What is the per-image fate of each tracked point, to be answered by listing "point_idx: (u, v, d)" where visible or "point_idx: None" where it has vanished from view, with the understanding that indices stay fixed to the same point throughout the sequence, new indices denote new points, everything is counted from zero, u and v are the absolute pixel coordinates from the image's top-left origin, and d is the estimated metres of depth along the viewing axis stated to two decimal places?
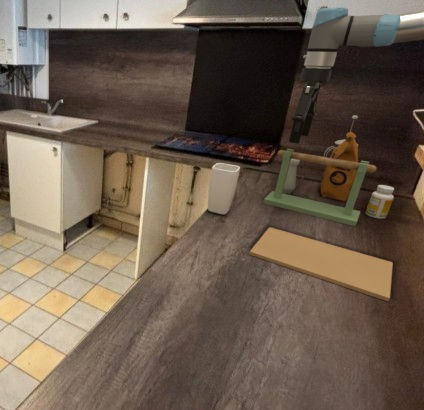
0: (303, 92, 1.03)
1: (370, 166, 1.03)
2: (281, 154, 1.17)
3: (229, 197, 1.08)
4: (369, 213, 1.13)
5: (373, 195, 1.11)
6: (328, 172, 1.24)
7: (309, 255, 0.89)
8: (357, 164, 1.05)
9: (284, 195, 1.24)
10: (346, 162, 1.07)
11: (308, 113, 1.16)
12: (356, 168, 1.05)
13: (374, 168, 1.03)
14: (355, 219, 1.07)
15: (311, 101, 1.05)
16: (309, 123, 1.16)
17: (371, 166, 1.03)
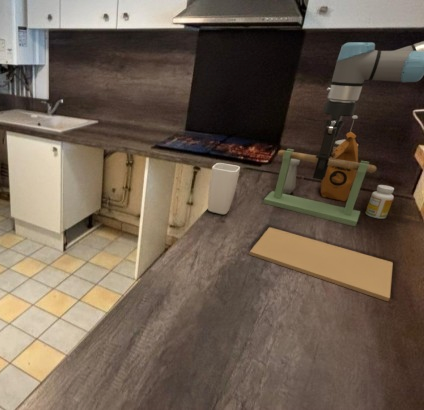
0: (326, 133, 1.03)
1: (370, 166, 1.03)
2: (281, 154, 1.17)
3: (229, 197, 1.08)
4: (369, 213, 1.13)
5: (373, 195, 1.11)
6: (328, 172, 1.24)
7: (309, 255, 0.89)
8: (357, 164, 1.05)
9: (284, 195, 1.24)
10: (346, 162, 1.07)
11: None
12: (356, 168, 1.05)
13: (374, 168, 1.03)
14: (355, 219, 1.07)
15: (335, 137, 1.05)
16: None
17: (371, 166, 1.03)
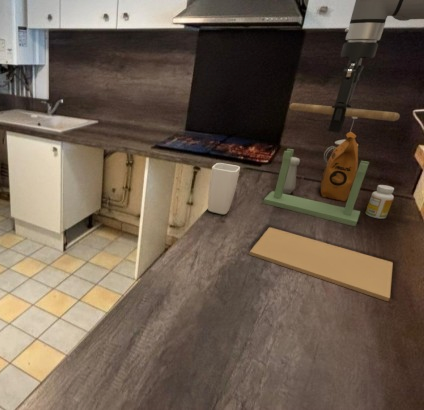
0: (344, 77, 0.94)
1: (393, 113, 0.94)
2: (293, 107, 1.08)
3: (229, 197, 1.08)
4: (369, 213, 1.13)
5: (373, 195, 1.11)
6: (328, 172, 1.24)
7: (309, 255, 0.89)
8: (378, 112, 0.96)
9: (284, 195, 1.24)
10: (365, 111, 0.97)
11: None
12: (377, 117, 0.96)
13: (397, 115, 0.93)
14: (355, 219, 1.07)
15: (354, 83, 0.96)
16: None
17: (394, 113, 0.94)
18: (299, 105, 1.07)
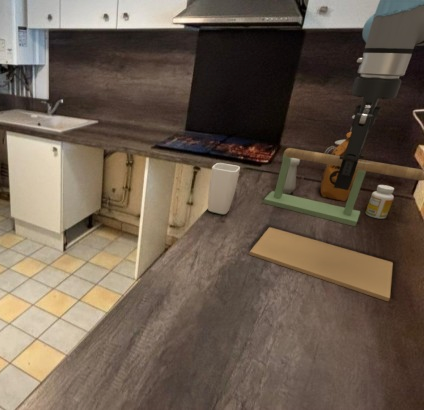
0: (356, 123, 0.71)
1: (420, 171, 0.71)
2: (289, 154, 0.85)
3: (229, 197, 1.08)
4: (369, 213, 1.13)
5: (373, 195, 1.11)
6: (328, 172, 1.24)
7: (309, 255, 0.89)
8: (400, 168, 0.73)
9: (284, 195, 1.24)
10: (383, 165, 0.74)
11: None
12: (398, 174, 0.73)
13: None
14: (355, 219, 1.07)
15: (368, 129, 0.73)
16: None
17: (421, 171, 0.71)
18: (296, 152, 0.84)
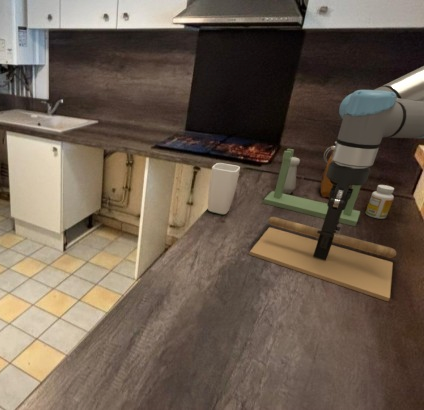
0: (330, 206, 0.79)
1: (388, 250, 0.78)
2: (272, 222, 0.92)
3: (229, 197, 1.08)
4: (369, 213, 1.13)
5: (373, 195, 1.11)
6: None
7: (309, 255, 0.89)
8: (371, 245, 0.80)
9: (284, 195, 1.24)
10: (356, 241, 0.82)
11: None
12: (369, 250, 0.80)
13: (393, 253, 0.78)
14: (355, 219, 1.07)
15: (342, 209, 0.81)
16: None
17: (389, 250, 0.78)
18: (279, 221, 0.91)
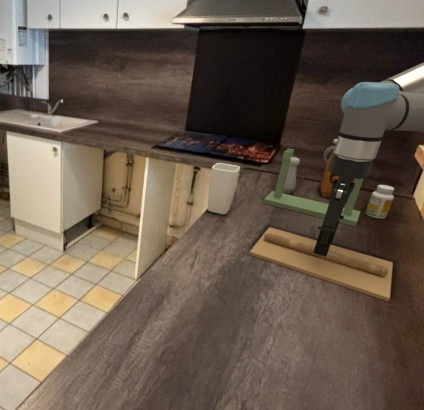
0: (333, 197, 0.77)
1: (380, 268, 0.80)
2: (268, 239, 0.94)
3: (229, 197, 1.08)
4: (369, 213, 1.13)
5: (373, 195, 1.11)
6: (328, 172, 1.24)
7: (309, 255, 0.89)
8: (363, 264, 0.82)
9: (284, 195, 1.24)
10: (349, 259, 0.84)
11: None
12: (362, 269, 0.82)
13: (385, 272, 0.80)
14: (355, 219, 1.07)
15: (344, 203, 0.79)
16: None
17: (381, 269, 0.80)
18: (274, 238, 0.93)
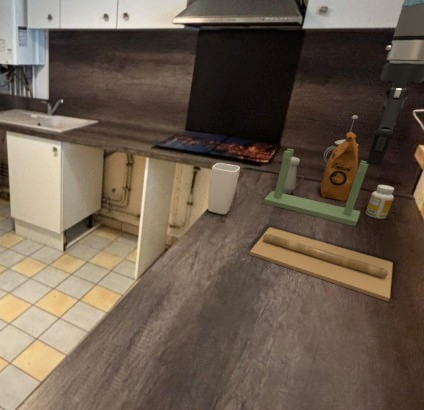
0: (391, 96, 0.75)
1: (379, 273, 0.80)
2: None
3: (229, 197, 1.08)
4: (369, 213, 1.13)
5: (373, 195, 1.11)
6: (328, 172, 1.24)
7: (309, 255, 0.89)
8: (362, 268, 0.82)
9: (284, 195, 1.24)
10: (347, 263, 0.83)
11: None
12: (361, 271, 0.82)
13: (384, 276, 0.79)
14: (355, 219, 1.07)
15: (399, 108, 0.77)
16: None
17: (380, 273, 0.80)
18: (273, 242, 0.93)
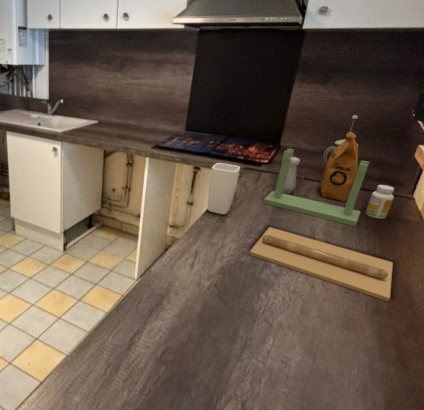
0: None
1: (378, 277, 0.80)
2: None
3: (229, 197, 1.08)
4: (369, 213, 1.13)
5: (373, 195, 1.11)
6: (328, 172, 1.24)
7: None
8: (361, 272, 0.82)
9: (284, 195, 1.24)
10: (346, 267, 0.83)
11: None
12: None
13: (383, 278, 0.79)
14: (355, 219, 1.07)
15: None
16: None
17: (379, 277, 0.80)
18: (272, 244, 0.93)
